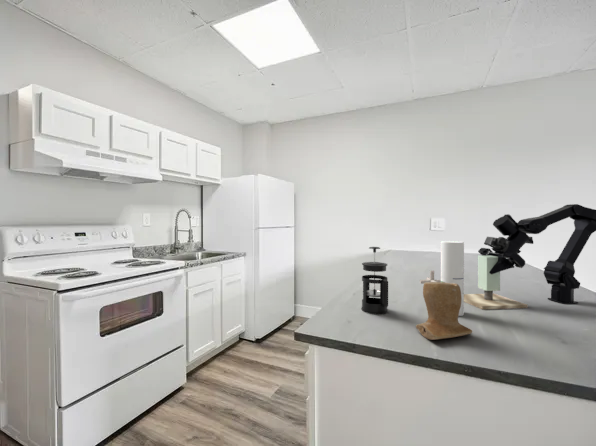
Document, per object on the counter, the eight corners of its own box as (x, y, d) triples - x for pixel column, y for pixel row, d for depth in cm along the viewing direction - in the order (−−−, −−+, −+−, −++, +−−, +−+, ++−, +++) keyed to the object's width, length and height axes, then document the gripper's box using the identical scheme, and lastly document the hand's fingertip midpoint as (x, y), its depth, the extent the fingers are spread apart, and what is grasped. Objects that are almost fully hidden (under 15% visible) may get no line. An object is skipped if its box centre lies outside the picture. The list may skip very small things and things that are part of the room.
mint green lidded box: (490, 287, 114) (490, 255, 114) (500, 290, 109) (500, 257, 109) (477, 287, 114) (477, 255, 114) (486, 290, 109) (486, 257, 109)
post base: (493, 296, 120) (493, 285, 120) (527, 307, 104) (527, 295, 104) (453, 297, 119) (454, 286, 119) (482, 309, 103) (482, 296, 103)
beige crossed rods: (439, 290, 131) (439, 268, 131) (448, 296, 121) (448, 272, 121) (416, 289, 132) (416, 268, 132) (424, 295, 122) (424, 272, 122)
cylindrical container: (467, 316, 95) (467, 242, 95) (444, 315, 97) (444, 242, 97) (459, 309, 102) (459, 241, 102) (438, 308, 104) (438, 240, 104)
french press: (355, 307, 106) (355, 246, 106) (375, 304, 109) (375, 245, 109) (375, 317, 95) (375, 249, 95) (397, 313, 99) (397, 248, 98)
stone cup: (444, 323, 89) (444, 276, 89) (479, 338, 78) (479, 284, 78) (404, 329, 85) (404, 279, 84) (435, 346, 73) (435, 288, 73)
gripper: (482, 228, 121) (457, 254, 121) (517, 230, 102) (487, 261, 102) (500, 247, 121) (475, 273, 121) (538, 252, 102) (508, 282, 102)
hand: (485, 272), depth 111 cm, fingers closed on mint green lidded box, 5 cm apart
